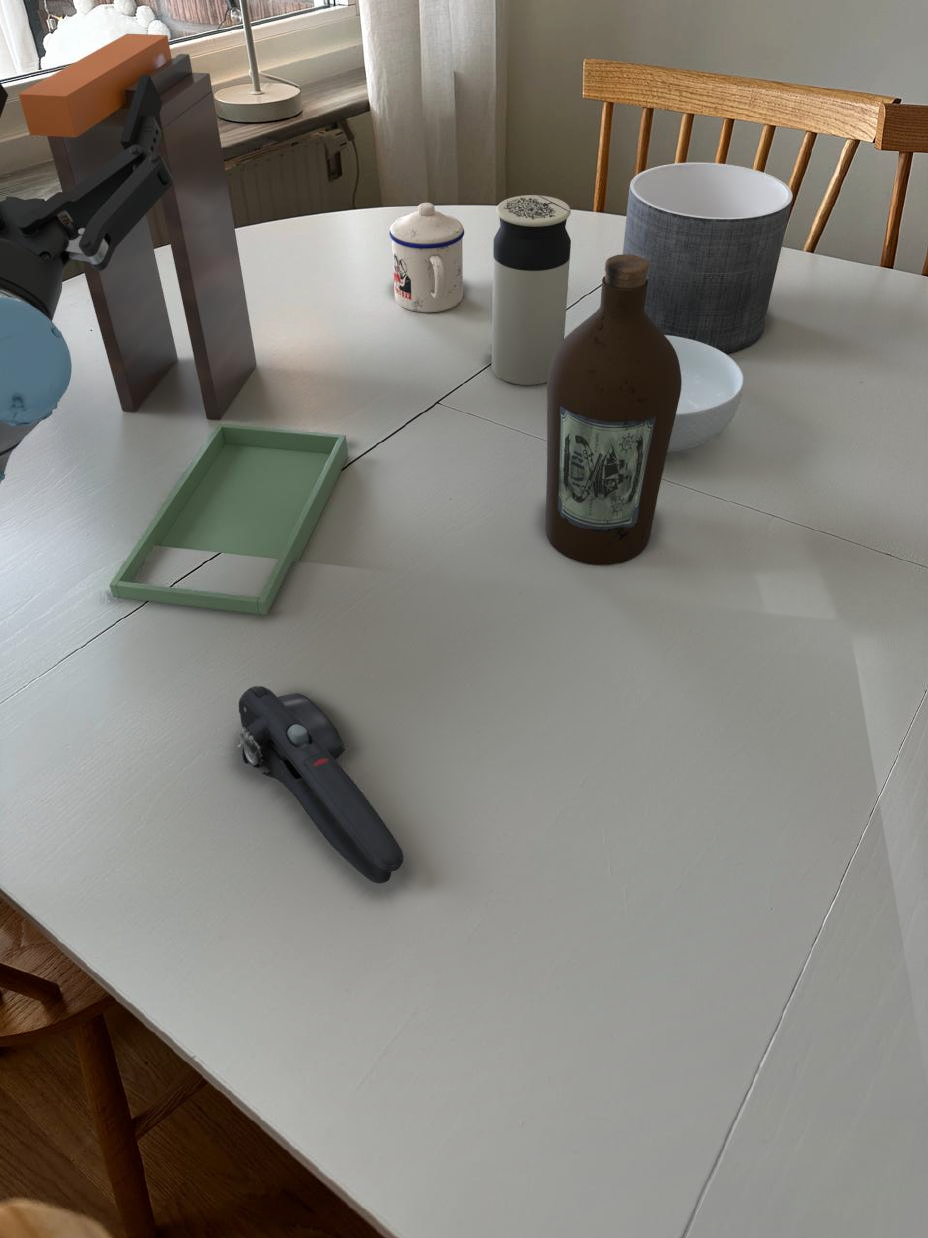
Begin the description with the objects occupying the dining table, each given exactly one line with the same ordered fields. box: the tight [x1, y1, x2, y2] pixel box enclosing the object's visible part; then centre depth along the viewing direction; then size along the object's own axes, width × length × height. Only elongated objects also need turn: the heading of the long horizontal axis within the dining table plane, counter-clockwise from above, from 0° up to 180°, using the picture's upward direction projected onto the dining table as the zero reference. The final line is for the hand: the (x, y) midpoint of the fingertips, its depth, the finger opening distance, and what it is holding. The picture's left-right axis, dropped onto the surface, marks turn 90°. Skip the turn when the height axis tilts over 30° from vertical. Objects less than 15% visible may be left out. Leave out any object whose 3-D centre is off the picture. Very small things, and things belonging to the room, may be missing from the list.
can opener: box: [235, 685, 404, 884], centre depth 65 cm, size 18×7×6 cm, turn 35°
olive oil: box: [544, 253, 682, 566], centre depth 80 cm, size 11×11×25 cm
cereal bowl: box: [665, 335, 745, 453], centre depth 98 cm, size 17×17×7 cm
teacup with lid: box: [389, 202, 465, 313], centre depth 119 cm, size 12×9×12 cm
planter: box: [622, 162, 794, 354], centre depth 114 cm, size 18×18×16 cm
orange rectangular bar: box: [18, 33, 173, 137], centre depth 84 cm, size 4×20×3 cm, turn 170°
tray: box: [109, 422, 349, 616], centre depth 89 cm, size 13×25×2 cm, turn 170°
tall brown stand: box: [46, 53, 258, 421], centre depth 97 cm, size 11×12×32 cm
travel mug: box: [491, 194, 572, 386], centre depth 104 cm, size 8×8×18 cm
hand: (72, 84), depth 79 cm, fingers open, 13 cm apart
